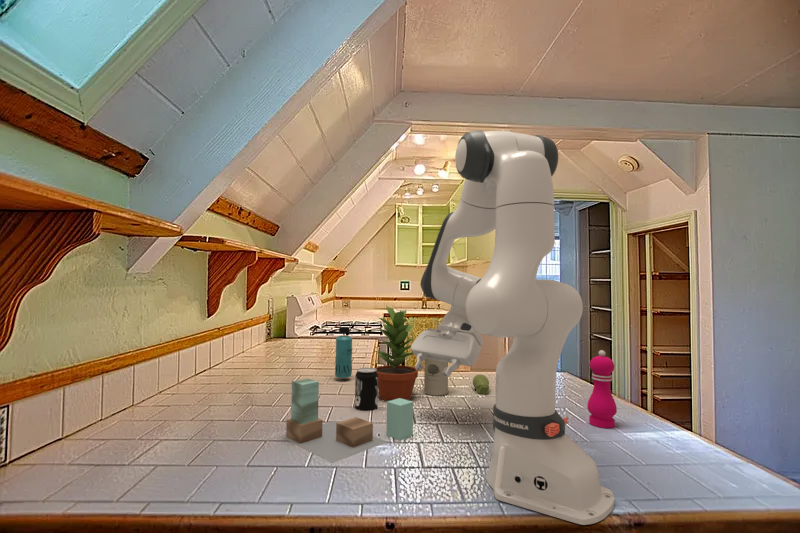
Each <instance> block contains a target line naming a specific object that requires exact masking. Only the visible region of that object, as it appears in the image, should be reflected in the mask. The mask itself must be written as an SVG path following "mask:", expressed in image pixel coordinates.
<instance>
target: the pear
mask: <svg viewBox="0 0 800 533" xmlns="http://www.w3.org/2000/svg"><path fill="white" fill-rule="evenodd" d="M472 385H473V388H475V393H477V394H478V395H489V394H490V380H489V379H488V377H486V375H484V374H479V373H478V374H476V375H475V376H473V379H472Z"/></svg>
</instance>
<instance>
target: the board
mask: <svg viewBox="0 0 800 533" xmlns="http://www.w3.org/2000/svg"><path fill="white" fill-rule="evenodd" d="M338 422H339V421H336V420H332V421H329V422H326V423H322V437H320V438H317V439H314V440H311V441H308V442H304V443H301V444H300V443H298V442H296V441H294V440H292V439H290V438H288V437H286V434H284V435H282V436H280V438H281V439H284V440H285V441H288V442H290V443H292V444H294V445H296V446H298V447H300V448H302V449H304V450H305V451H308V452H310V453H311V454H313V455H315V456H317V457H319V458H322V459H324V460H326V461H327V462H330V463H332V464H333V463H336V462H339V461H341V460H344V459H347V458H349V457H351V456H354V455H357V454H359V453H363V452H365V451H368V450H371V449H373V448H375V447H378V446H381V445H384V444H386V443H388V440H385V439H382V438H379V437H376V436H374V435H373V441H370V442H367V443H364V444H362V445H359V446H356V447H350V446H348V445H346V444H343V443H341V442H339V441H337V440H336V423H338Z"/></svg>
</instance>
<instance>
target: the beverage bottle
mask: <svg viewBox="0 0 800 533" xmlns="http://www.w3.org/2000/svg"><path fill="white" fill-rule="evenodd" d="M338 333H339V334H349V333H351V331H350V327H349V326H340V327H339V329H338ZM334 361H335V364H334V366H335V367H334V376H335V377H336V378H338V379H339V378H340V379H344V378H351V377H352V375H353V373H352V372H353V338H352V336H351V335H338V336H337V337H336V338H335V359H334Z"/></svg>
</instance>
